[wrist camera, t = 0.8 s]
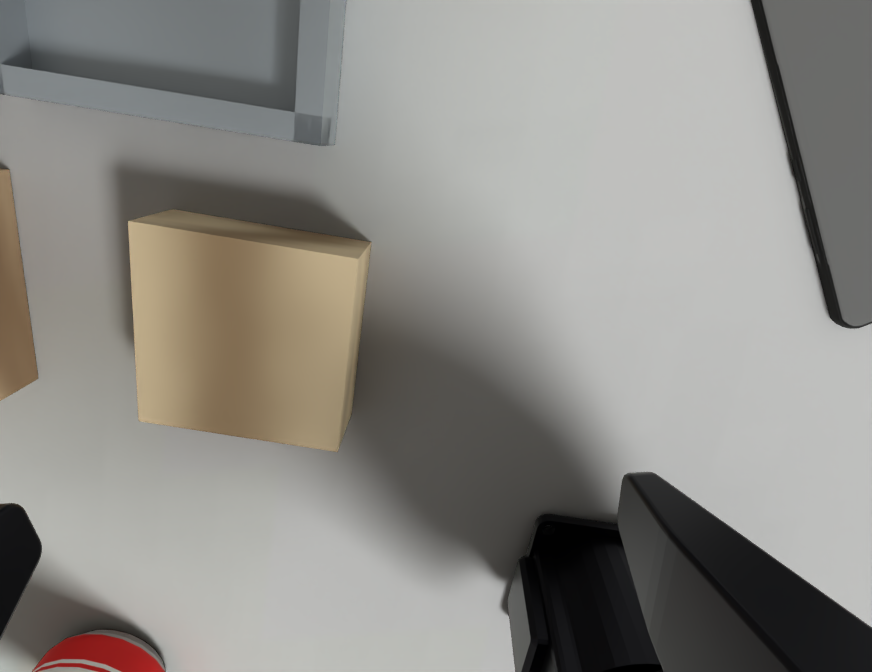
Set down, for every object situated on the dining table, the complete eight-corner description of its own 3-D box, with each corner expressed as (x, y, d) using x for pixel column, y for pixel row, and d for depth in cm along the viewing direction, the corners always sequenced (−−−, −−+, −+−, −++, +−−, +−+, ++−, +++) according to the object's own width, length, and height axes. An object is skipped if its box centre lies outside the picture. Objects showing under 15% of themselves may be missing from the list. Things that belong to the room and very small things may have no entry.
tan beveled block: (372, 240, 19) (358, 259, 16) (352, 410, 21) (337, 452, 18) (177, 207, 19) (127, 220, 16) (180, 382, 21) (138, 421, 18)
